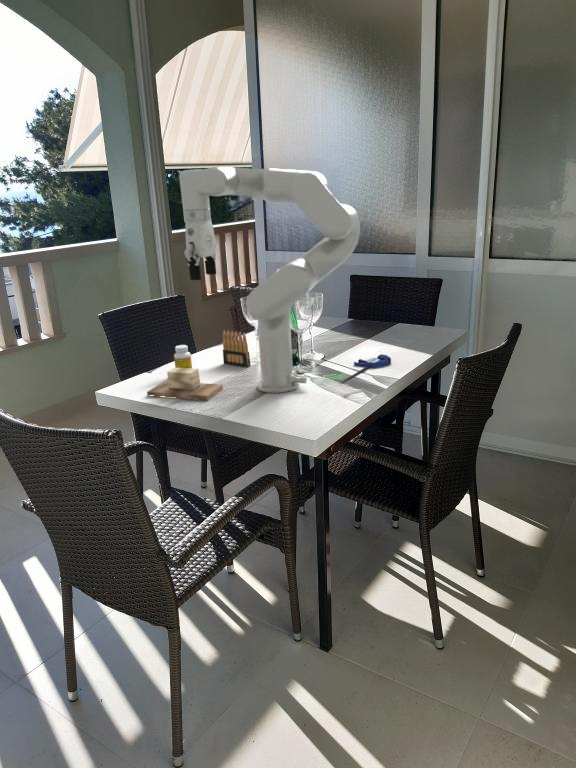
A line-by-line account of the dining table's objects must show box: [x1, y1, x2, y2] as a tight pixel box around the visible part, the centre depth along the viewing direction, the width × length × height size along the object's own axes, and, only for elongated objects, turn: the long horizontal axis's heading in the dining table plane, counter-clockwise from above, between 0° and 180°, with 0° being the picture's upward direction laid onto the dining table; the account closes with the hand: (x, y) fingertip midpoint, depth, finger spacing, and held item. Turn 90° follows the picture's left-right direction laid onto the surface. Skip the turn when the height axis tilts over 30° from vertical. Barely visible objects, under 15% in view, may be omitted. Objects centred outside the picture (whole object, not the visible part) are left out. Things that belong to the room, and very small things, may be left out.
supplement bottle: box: [173, 344, 193, 368], centre depth 198 cm, size 5×5×10 cm
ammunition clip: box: [222, 329, 252, 369], centre depth 204 cm, size 11×2×12 cm, turn 54°
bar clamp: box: [338, 354, 392, 385], centre depth 190 cm, size 32×2×10 cm
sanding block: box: [166, 367, 201, 391], centre depth 181 cm, size 8×4×6 cm, turn 71°
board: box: [146, 380, 224, 401], centre depth 182 cm, size 20×10×2 cm, turn 71°
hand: (203, 276), depth 176 cm, fingers open, 9 cm apart
